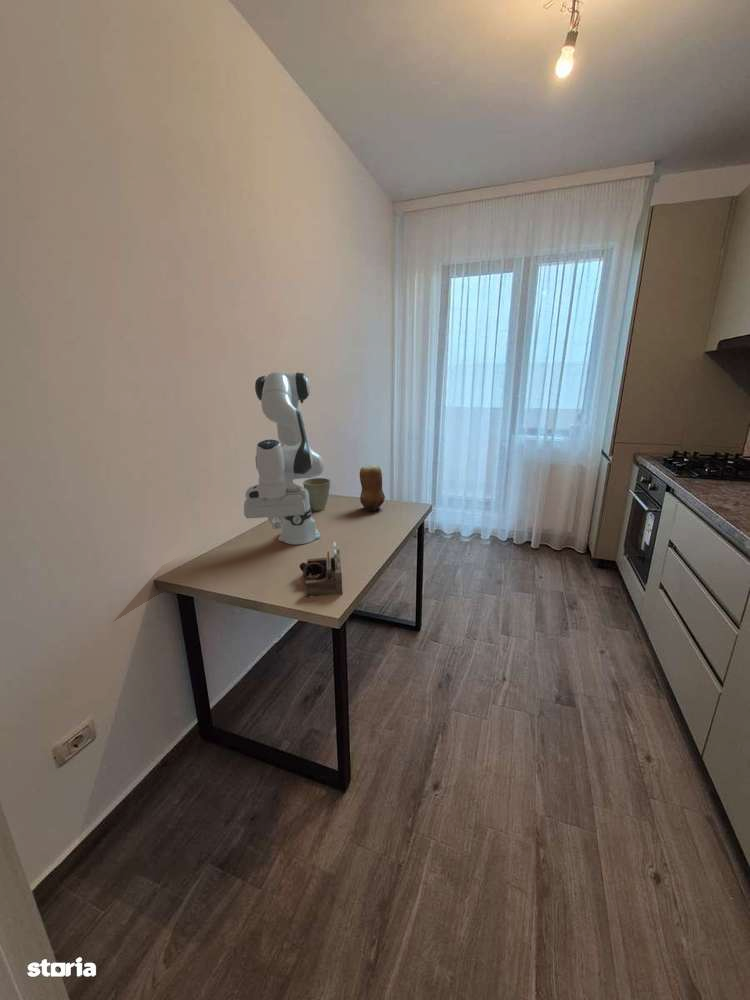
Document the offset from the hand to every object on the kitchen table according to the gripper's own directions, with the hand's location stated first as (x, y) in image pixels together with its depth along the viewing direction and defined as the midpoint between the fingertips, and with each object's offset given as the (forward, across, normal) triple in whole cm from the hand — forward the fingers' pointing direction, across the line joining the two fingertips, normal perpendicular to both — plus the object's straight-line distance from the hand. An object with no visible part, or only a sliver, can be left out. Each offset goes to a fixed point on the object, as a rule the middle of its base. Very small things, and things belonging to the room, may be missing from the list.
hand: (277, 528), depth 137 cm
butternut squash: (+23, -42, -74) cm, 88 cm away
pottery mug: (+21, -11, +2) cm, 24 cm away
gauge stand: (+20, -16, +4) cm, 26 cm away
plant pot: (+23, -13, -82) cm, 86 cm away
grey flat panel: (+20, -18, +4) cm, 27 cm away
